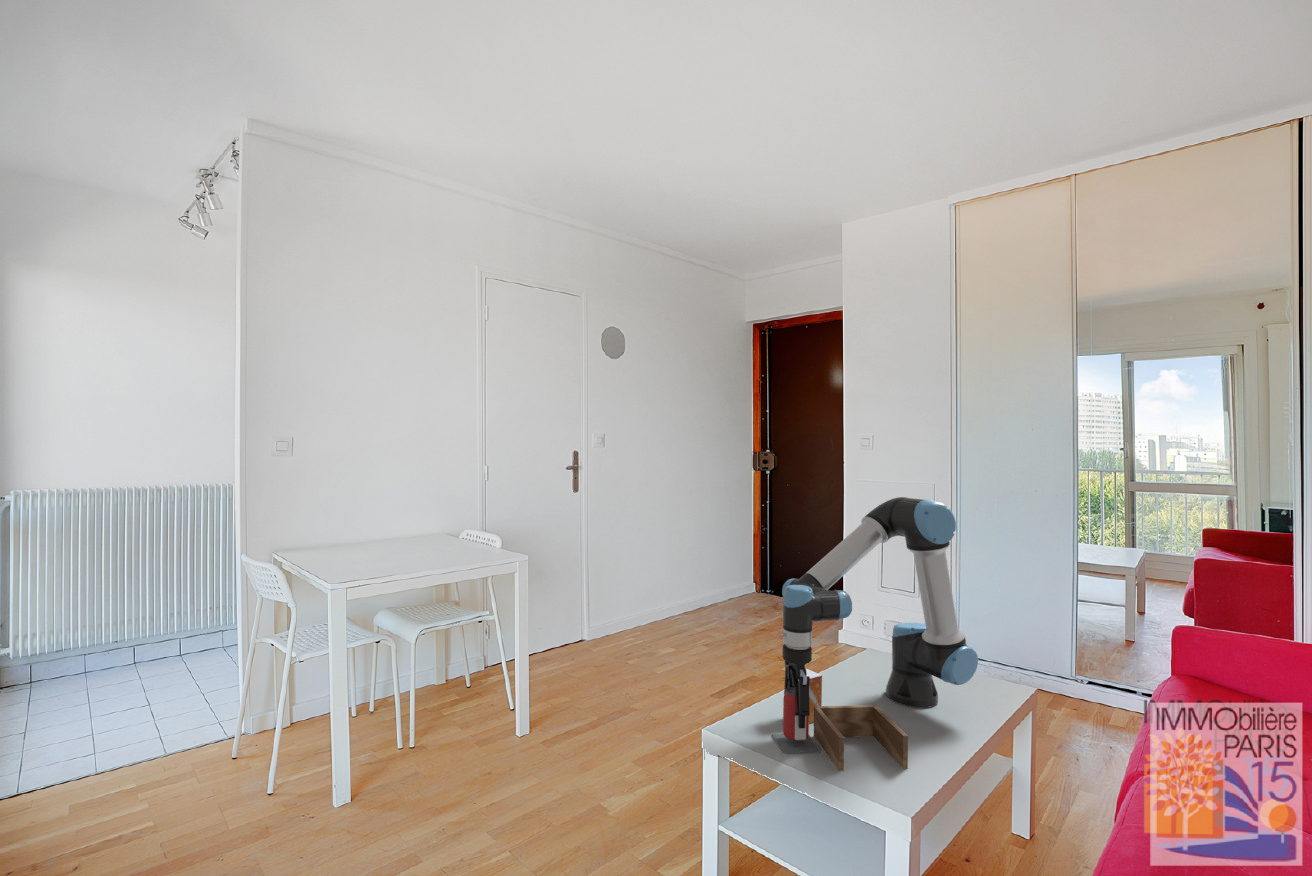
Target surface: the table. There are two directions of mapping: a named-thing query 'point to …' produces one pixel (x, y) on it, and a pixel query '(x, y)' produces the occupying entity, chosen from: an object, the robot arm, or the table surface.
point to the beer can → (791, 715)
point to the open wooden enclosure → (858, 731)
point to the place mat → (795, 745)
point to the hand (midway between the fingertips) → (795, 732)
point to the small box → (814, 692)
